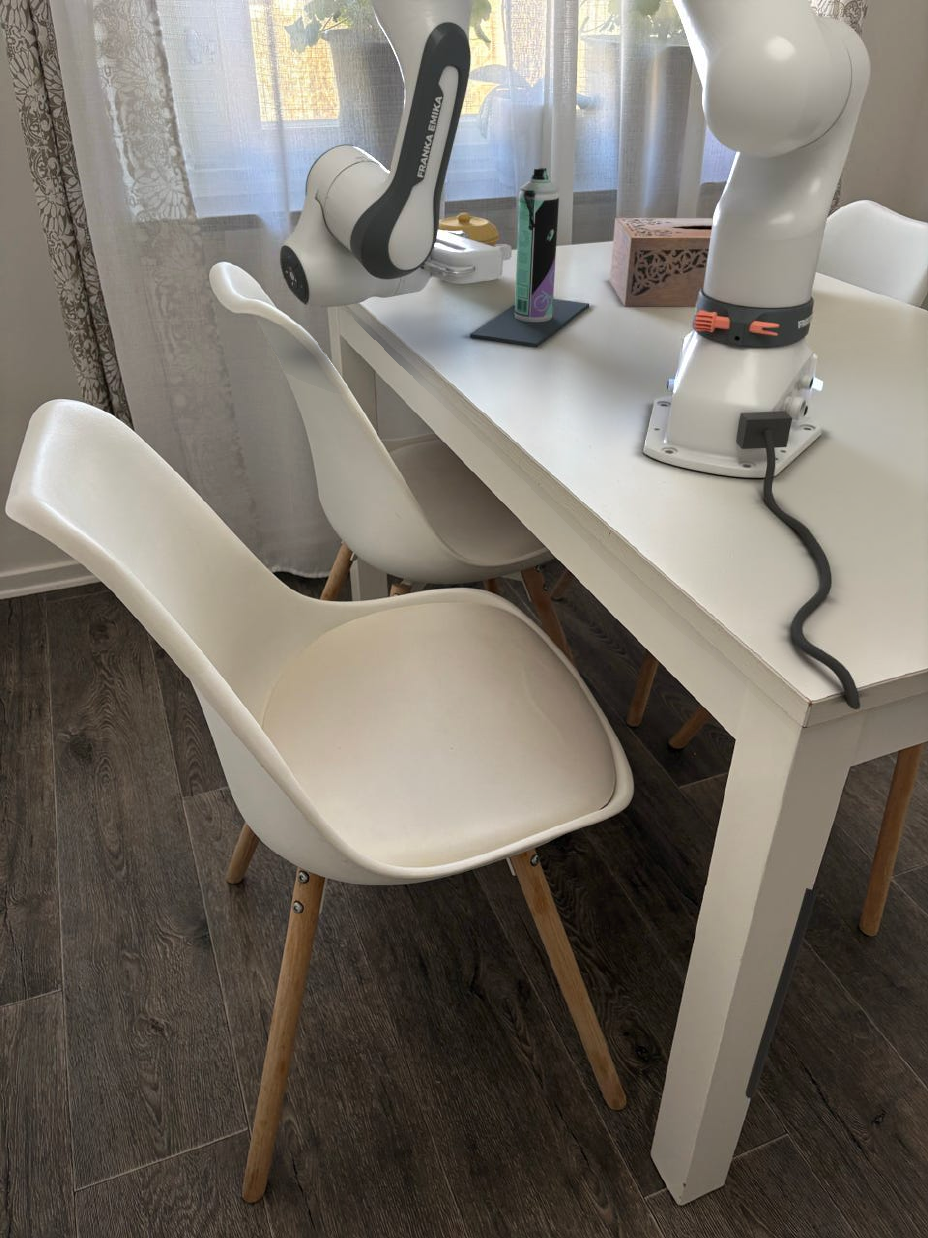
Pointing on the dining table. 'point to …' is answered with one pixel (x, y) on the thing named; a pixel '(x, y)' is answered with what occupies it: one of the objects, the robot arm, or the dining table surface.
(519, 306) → the spray can
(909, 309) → the dining table surface
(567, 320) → the mat
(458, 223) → the pot
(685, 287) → the tissue box cover
